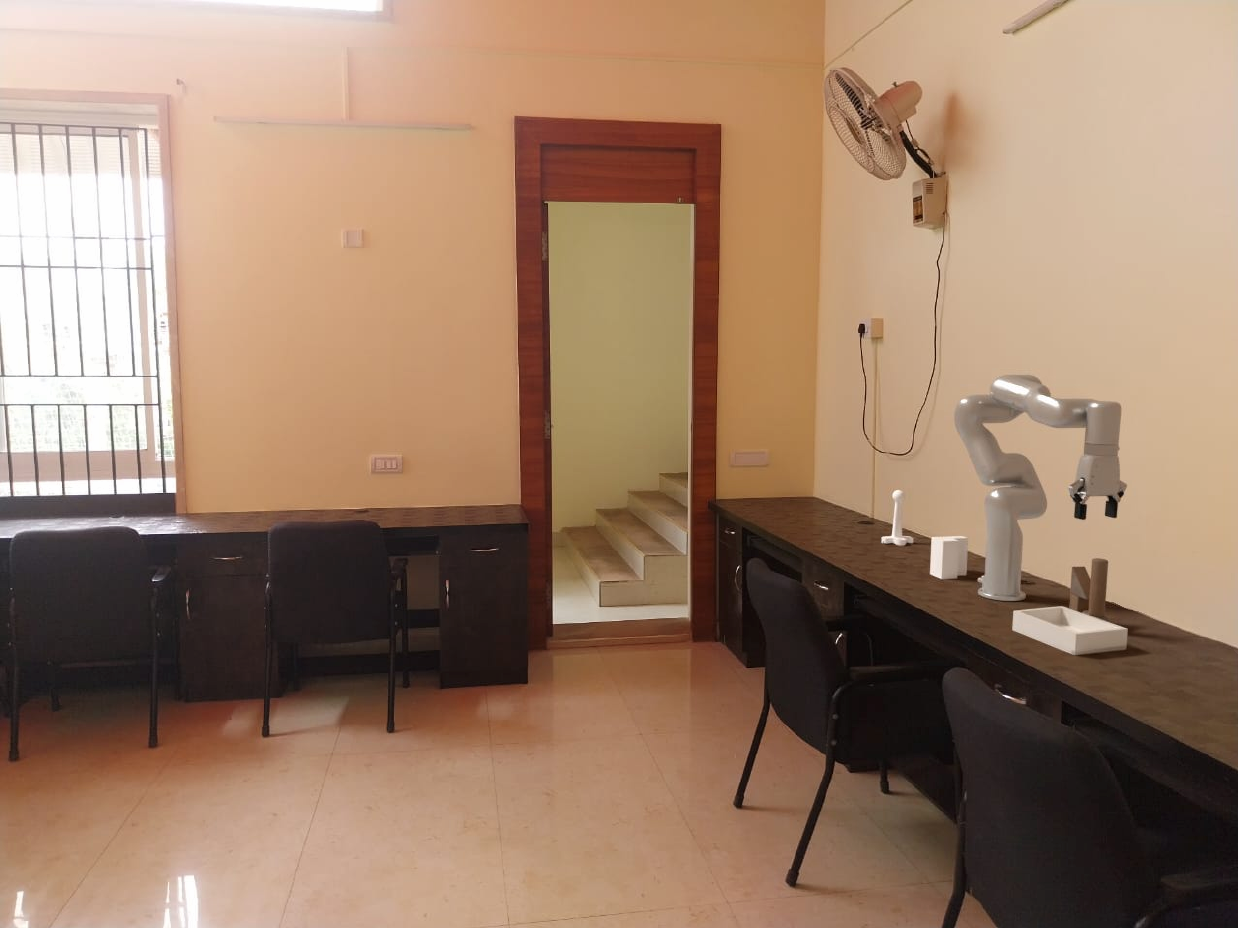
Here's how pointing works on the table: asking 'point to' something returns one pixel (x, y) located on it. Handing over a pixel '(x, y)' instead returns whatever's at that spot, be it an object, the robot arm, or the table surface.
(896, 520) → the joystick
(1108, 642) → the tray
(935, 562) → the corner bracket
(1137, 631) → the table surface
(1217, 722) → the table surface
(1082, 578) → the brown rod with wedge
